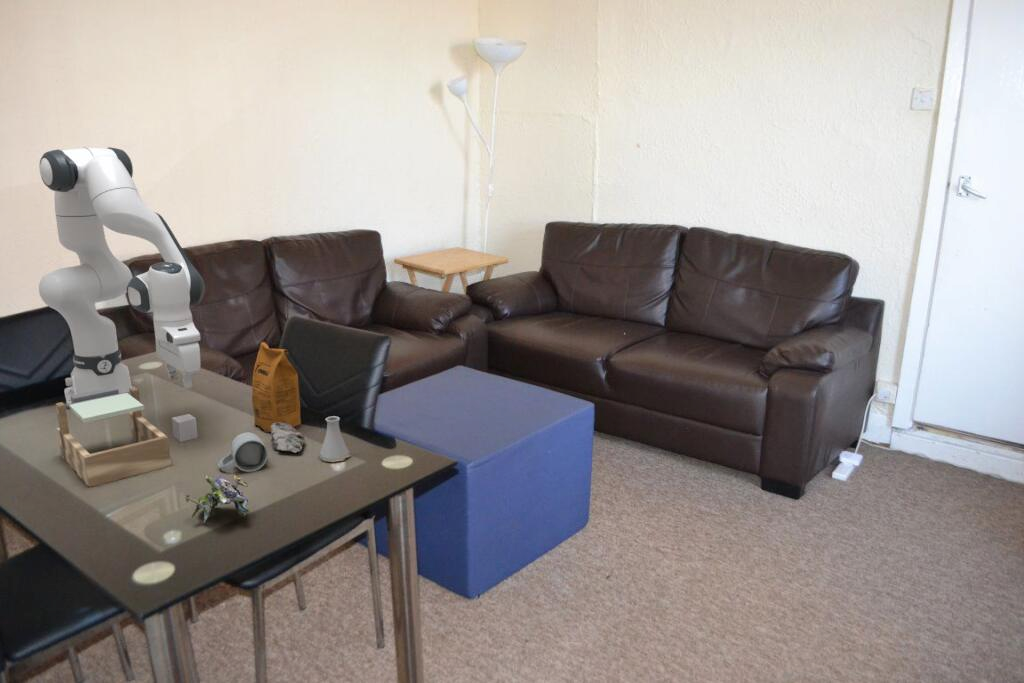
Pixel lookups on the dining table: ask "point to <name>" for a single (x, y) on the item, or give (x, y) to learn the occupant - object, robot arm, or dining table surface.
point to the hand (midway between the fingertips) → (180, 383)
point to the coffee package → (275, 389)
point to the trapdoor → (103, 404)
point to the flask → (333, 441)
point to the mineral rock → (286, 437)
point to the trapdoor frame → (115, 451)
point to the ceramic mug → (245, 453)
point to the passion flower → (222, 496)
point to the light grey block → (185, 427)
